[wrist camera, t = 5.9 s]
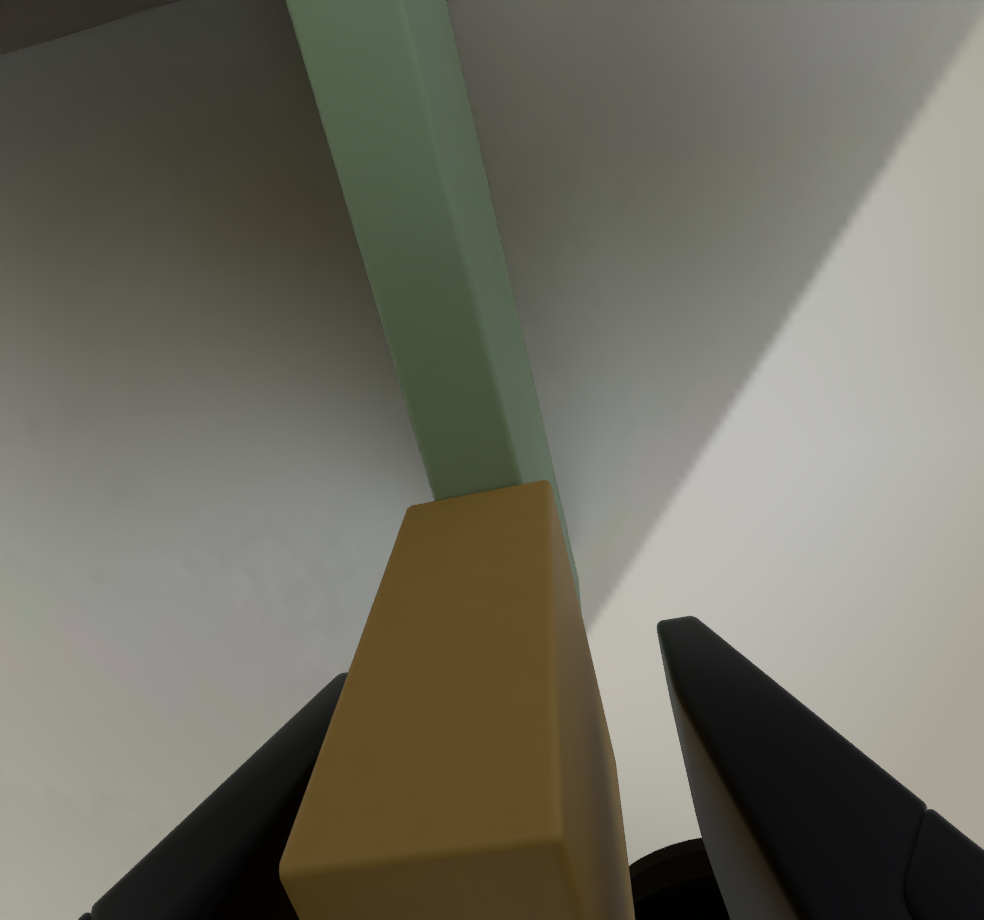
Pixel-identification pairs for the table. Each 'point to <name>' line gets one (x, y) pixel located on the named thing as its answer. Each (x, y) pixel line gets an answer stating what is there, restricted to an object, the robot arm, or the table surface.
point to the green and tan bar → (452, 543)
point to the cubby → (59, 18)
